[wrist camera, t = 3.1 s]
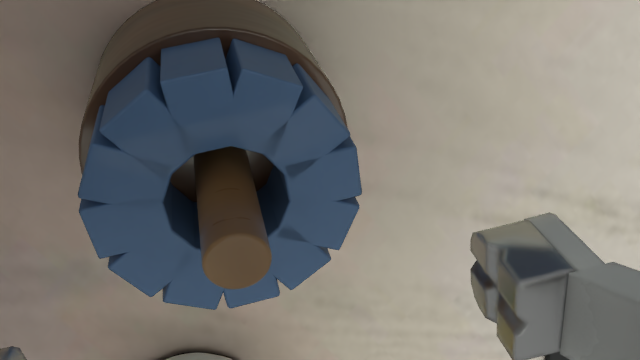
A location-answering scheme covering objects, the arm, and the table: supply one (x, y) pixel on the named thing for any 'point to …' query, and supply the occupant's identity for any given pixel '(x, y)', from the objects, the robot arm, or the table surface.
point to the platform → (221, 164)
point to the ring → (205, 135)
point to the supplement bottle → (198, 357)
